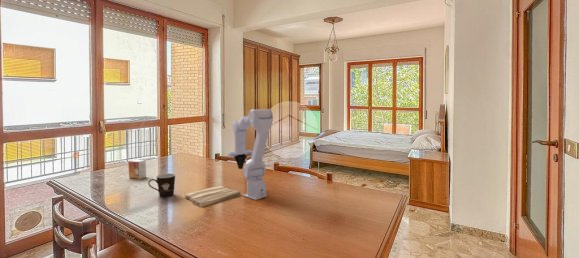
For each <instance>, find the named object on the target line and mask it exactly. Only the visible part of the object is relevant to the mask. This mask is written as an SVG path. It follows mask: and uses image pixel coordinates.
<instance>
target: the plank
mask: <svg viewBox="0 0 579 258" xmlns="http://www.w3.org/2000/svg"><path fill="white" fill-rule="evenodd" d="M227 190H230V189H229V188H228V187H226V186H223V185H216V186H212V187H209V188H205V189H201V190H196V191H192V192H189V193H185V194H184V198H185V199H187V200H189V201H191V202H193V200H194V199H198V198H201V197H205V196H208V195H212V194H216V193H219V192H223V191H227Z"/></svg>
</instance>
